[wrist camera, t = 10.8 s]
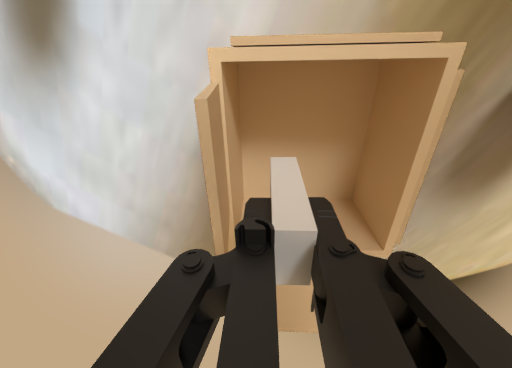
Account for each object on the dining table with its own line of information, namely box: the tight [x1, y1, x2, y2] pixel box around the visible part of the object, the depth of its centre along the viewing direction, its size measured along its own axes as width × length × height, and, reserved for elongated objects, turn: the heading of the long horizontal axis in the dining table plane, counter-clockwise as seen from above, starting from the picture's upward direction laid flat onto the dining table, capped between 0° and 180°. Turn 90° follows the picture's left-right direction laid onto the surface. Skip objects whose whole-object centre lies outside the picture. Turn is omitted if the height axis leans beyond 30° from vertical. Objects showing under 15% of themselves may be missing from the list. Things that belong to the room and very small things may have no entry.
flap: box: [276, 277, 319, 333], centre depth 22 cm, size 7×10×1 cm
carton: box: [207, 31, 468, 257], centre depth 23 cm, size 19×17×10 cm
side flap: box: [194, 83, 230, 256], centre depth 14 cm, size 7×10×1 cm
